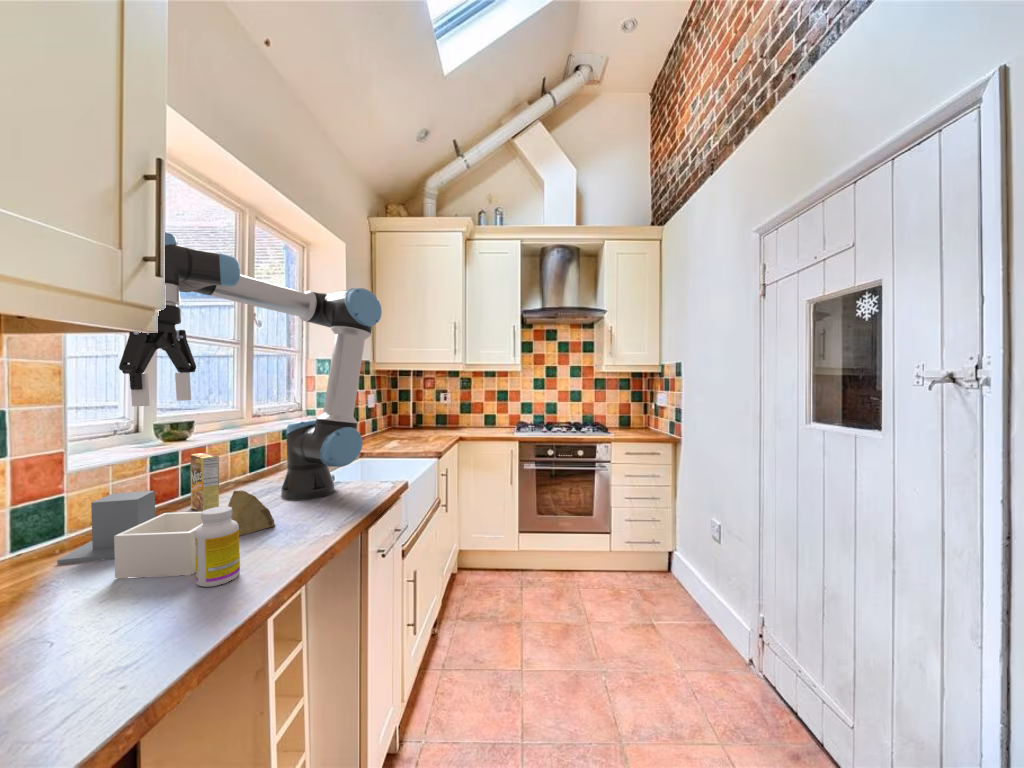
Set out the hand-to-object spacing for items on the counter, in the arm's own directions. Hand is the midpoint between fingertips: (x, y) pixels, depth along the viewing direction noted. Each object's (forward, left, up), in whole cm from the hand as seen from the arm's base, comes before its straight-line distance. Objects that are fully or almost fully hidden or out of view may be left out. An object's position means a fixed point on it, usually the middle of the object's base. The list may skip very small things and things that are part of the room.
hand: (164, 403), depth 92 cm
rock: (-7, +14, -32) cm, 35 cm away
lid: (-1, -9, -32) cm, 33 cm away
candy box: (-26, -7, -32) cm, 42 cm away
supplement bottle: (+17, +20, -32) cm, 41 cm away
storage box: (+9, +8, -32) cm, 33 cm away
